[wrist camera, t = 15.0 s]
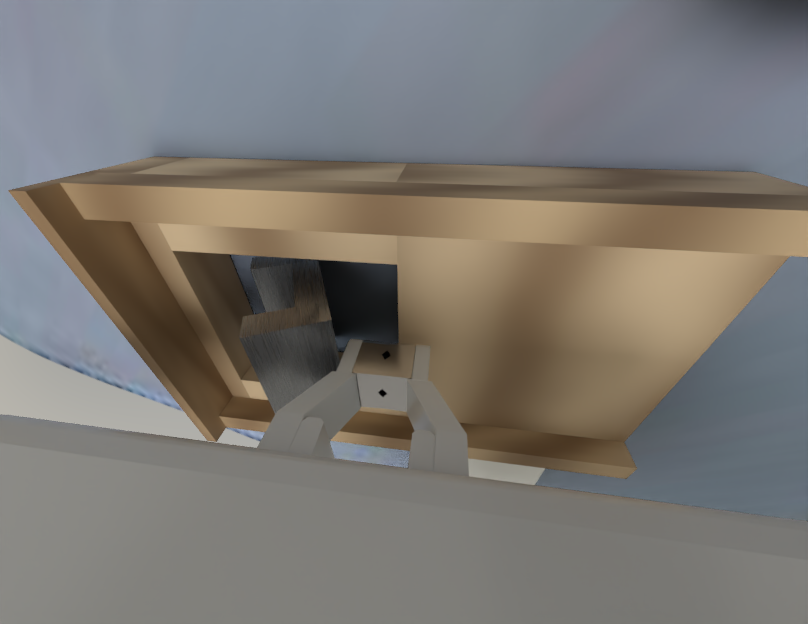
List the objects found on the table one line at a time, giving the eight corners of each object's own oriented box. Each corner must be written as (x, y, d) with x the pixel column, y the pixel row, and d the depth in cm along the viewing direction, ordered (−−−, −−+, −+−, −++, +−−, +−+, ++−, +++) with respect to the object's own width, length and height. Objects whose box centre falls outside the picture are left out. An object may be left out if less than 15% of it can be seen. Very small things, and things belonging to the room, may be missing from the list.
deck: (754, 172, 9) (961, 229, 5) (594, 408, 16) (635, 498, 13) (153, 156, 11) (8, 190, 7) (255, 371, 18) (207, 440, 15)
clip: (331, 319, 9) (239, 338, 8) (350, 416, 12) (285, 435, 11) (316, 249, 12) (252, 257, 12) (333, 336, 15) (283, 347, 15)
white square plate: (557, 420, 17) (563, 439, 16) (527, 473, 21) (530, 491, 20) (438, 406, 18) (437, 424, 17) (431, 461, 22) (431, 477, 21)
